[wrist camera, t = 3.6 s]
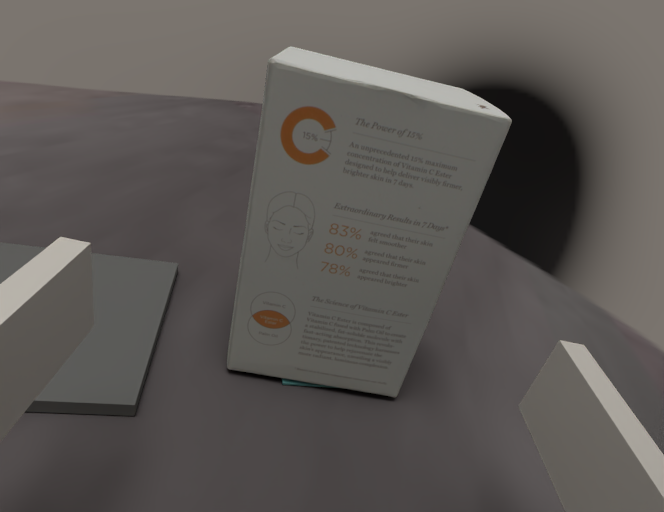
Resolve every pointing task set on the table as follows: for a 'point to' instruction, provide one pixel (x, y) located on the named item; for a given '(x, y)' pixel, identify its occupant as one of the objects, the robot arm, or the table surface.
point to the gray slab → (106, 334)
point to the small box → (354, 218)
